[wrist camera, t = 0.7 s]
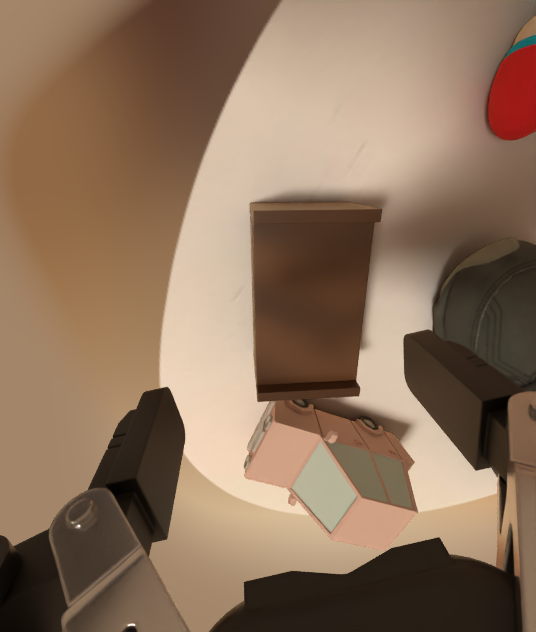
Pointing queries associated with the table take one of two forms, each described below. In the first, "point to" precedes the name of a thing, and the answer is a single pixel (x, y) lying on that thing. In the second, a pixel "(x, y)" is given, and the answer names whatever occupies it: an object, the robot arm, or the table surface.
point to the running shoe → (494, 309)
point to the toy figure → (515, 88)
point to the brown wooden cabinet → (309, 296)
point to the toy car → (335, 471)
